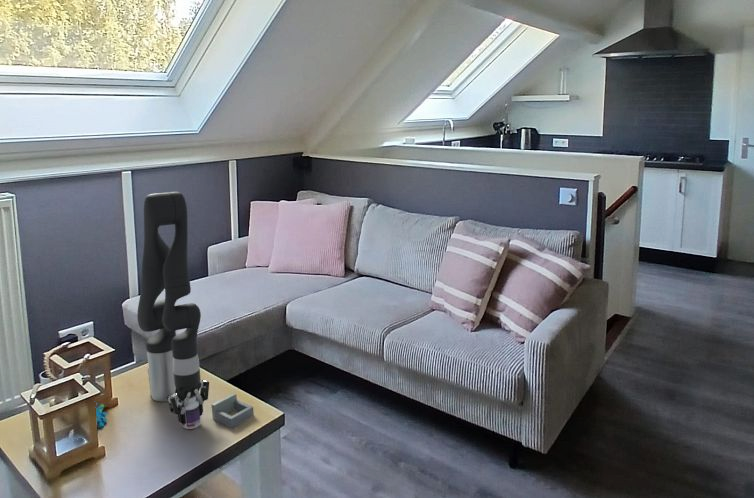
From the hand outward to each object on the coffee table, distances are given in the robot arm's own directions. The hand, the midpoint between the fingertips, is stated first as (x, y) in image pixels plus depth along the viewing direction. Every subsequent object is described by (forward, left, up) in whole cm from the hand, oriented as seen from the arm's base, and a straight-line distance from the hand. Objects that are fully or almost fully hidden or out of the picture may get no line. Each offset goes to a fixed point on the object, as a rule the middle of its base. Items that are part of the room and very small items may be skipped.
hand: (191, 418), depth 187 cm
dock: (+6, +11, -2) cm, 13 cm away
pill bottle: (0, 0, -2) cm, 2 cm away
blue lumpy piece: (-25, -17, -3) cm, 31 cm away
